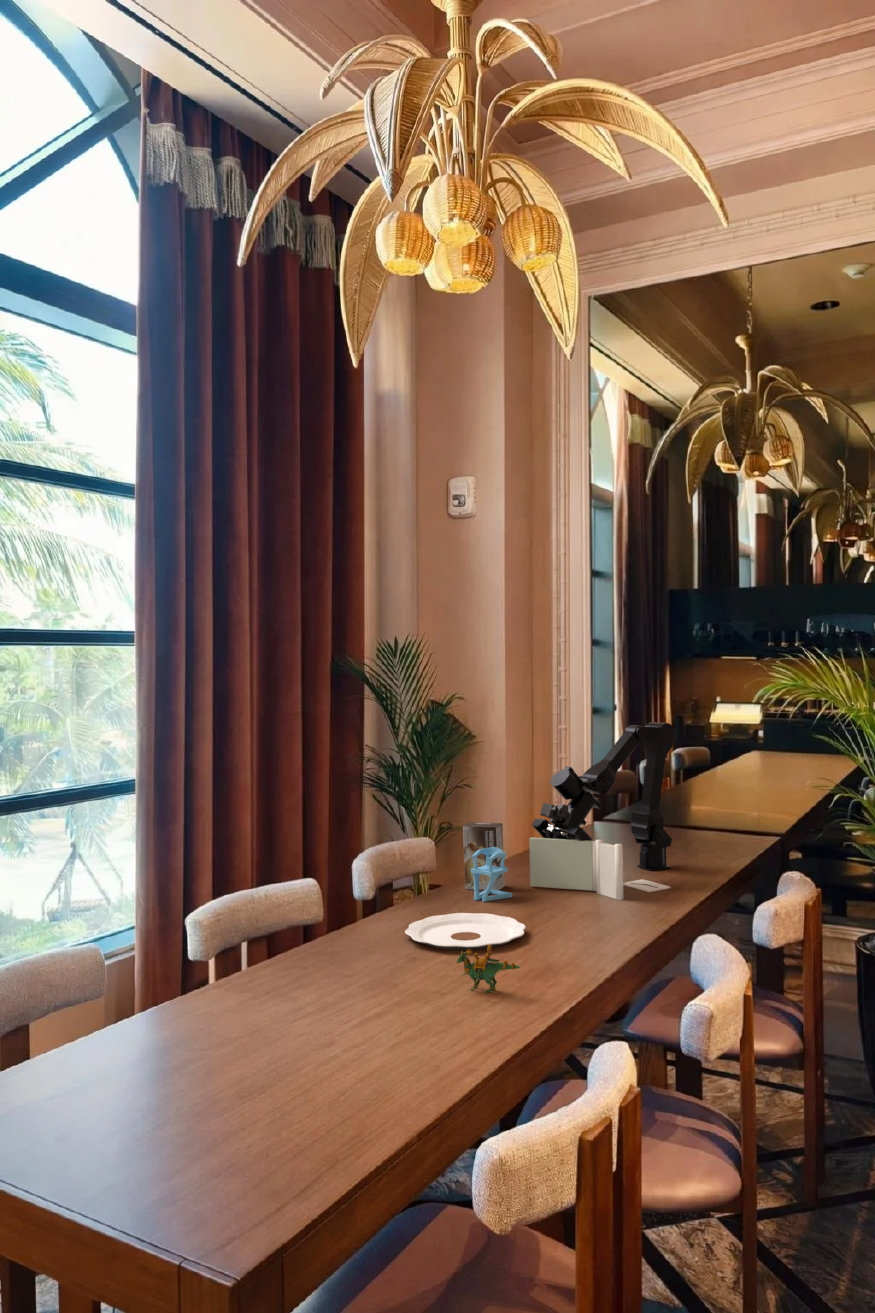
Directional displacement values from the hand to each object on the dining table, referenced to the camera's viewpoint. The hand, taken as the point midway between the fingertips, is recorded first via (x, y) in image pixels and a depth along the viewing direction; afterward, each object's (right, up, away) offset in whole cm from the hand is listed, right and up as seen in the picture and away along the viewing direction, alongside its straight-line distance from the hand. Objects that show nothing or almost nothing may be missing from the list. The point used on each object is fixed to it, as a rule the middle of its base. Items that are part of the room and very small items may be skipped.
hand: (543, 859), depth 249 cm
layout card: (+25, -6, -2) cm, 26 cm away
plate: (-21, -8, -42) cm, 47 cm away
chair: (-14, -7, -10) cm, 19 cm away
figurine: (-18, -8, -76) cm, 78 cm away
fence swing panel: (+5, -6, -3) cm, 9 cm away
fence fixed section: (+15, -7, -11) cm, 20 cm away
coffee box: (-15, -7, +1) cm, 17 cm away
